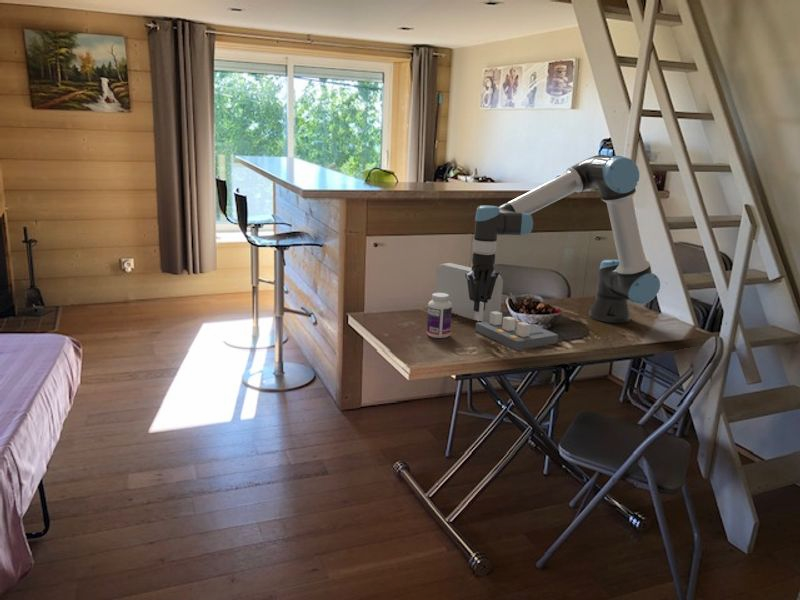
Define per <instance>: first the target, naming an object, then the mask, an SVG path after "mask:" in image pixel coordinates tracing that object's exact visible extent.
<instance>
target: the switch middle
mask: <svg viewBox="0 0 800 600" xmlns="http://www.w3.org/2000/svg"><path fill="white" fill-rule="evenodd" d="M502 319H503V324H502V329H504V330H506V331H512V330H515V321H516V319H515V318H514V317H512V316H502Z"/></svg>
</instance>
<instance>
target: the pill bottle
mask: <svg viewBox="0 0 800 600" xmlns="http://www.w3.org/2000/svg"><path fill="white" fill-rule="evenodd" d="M448 299H449V295H448V294H446V293H435V292H434V293H432V296H431V300H429V302H428V303H427V320H426V321H427V322H426V333H427V334H426V335H428V336H429V337H430V338H434V339H444V338H448V337H450V335H451V326H452V313H451V312H452V304H451V302H449V301H448Z"/></svg>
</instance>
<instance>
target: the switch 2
mask: <svg viewBox="0 0 800 600" xmlns="http://www.w3.org/2000/svg"><path fill="white" fill-rule="evenodd" d="M526 322H527V321H526ZM526 322H520V323H517V331H516V335H519V336H521V337H526V336H529V332H530V324H531V323H530V324H528V323H529V322H528V323H526Z"/></svg>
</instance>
